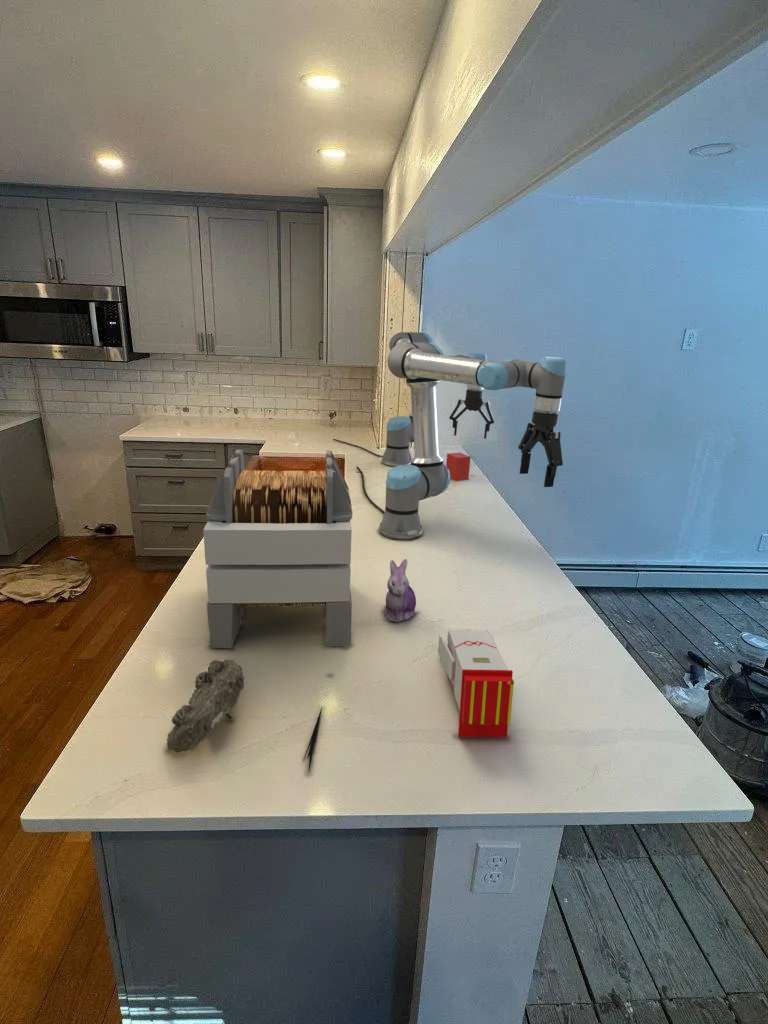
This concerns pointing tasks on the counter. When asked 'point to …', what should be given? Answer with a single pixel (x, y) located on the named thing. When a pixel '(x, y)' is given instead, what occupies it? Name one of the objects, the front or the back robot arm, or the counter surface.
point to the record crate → (278, 547)
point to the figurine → (399, 594)
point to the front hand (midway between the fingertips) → (535, 479)
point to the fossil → (206, 705)
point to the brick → (458, 466)
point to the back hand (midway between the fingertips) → (470, 436)
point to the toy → (478, 682)
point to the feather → (313, 740)
